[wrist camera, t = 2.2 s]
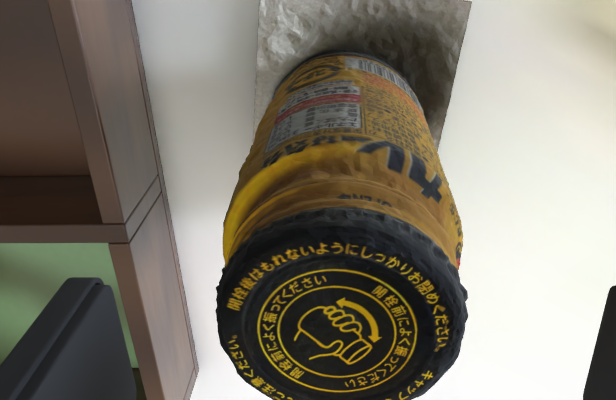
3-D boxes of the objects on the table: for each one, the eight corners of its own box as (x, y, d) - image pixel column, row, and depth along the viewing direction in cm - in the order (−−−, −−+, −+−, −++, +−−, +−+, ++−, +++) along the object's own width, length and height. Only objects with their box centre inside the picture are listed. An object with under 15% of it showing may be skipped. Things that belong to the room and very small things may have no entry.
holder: (-216, -109, 19) (-364, -111, 15) (108, -126, 18) (42, -134, 14) (-14, 368, 29) (-70, 440, 25) (199, 370, 29) (175, 446, 25)
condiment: (250, 191, 23) (173, 431, 13) (261, -23, 19) (161, 69, 9) (423, 210, 23) (487, 466, 13) (470, -1, 19) (620, 119, 9)
